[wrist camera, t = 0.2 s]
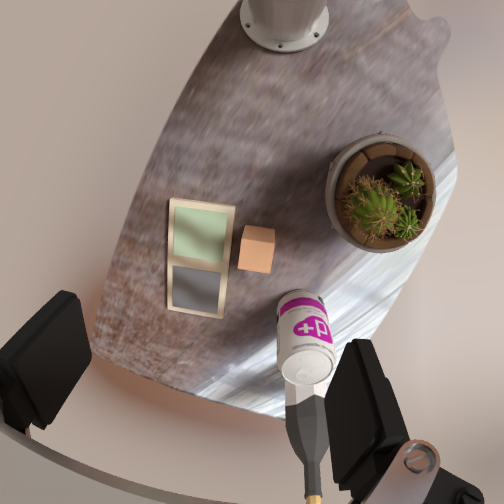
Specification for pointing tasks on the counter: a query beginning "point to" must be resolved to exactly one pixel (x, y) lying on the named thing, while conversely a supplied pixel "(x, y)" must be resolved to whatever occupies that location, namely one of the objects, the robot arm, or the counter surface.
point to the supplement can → (304, 339)
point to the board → (199, 256)
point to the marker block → (257, 249)
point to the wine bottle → (308, 432)
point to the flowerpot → (380, 193)
